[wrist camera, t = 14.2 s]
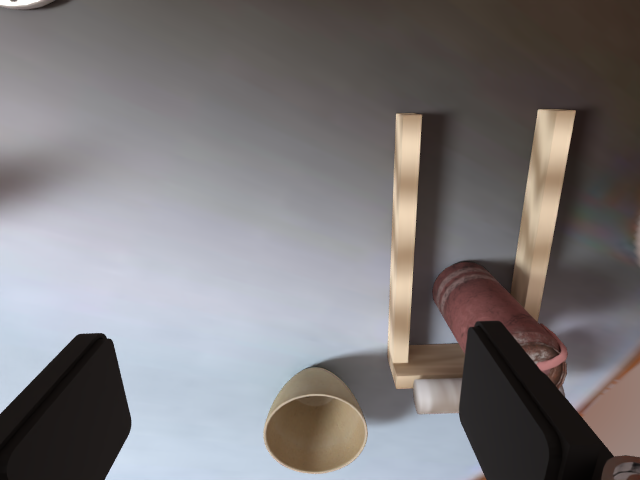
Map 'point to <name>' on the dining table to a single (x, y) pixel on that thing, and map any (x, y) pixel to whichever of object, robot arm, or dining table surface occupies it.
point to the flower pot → (315, 423)
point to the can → (495, 315)
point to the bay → (529, 271)
